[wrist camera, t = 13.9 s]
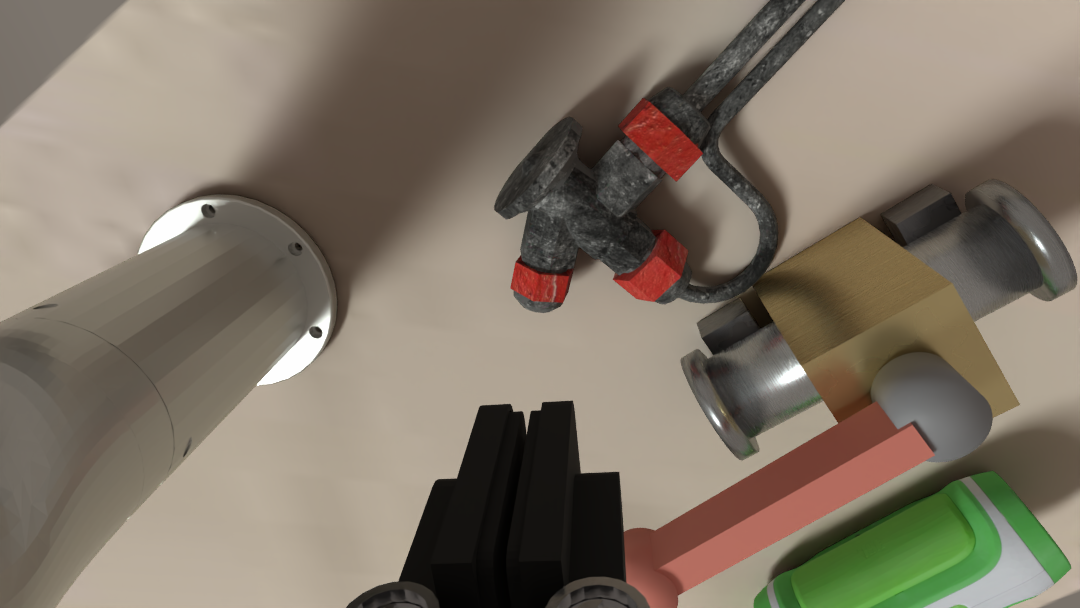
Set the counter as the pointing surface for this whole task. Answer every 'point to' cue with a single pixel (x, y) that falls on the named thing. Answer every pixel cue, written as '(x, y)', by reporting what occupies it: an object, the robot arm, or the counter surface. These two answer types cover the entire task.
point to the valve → (645, 180)
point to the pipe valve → (877, 310)
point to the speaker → (932, 556)
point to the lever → (815, 477)
